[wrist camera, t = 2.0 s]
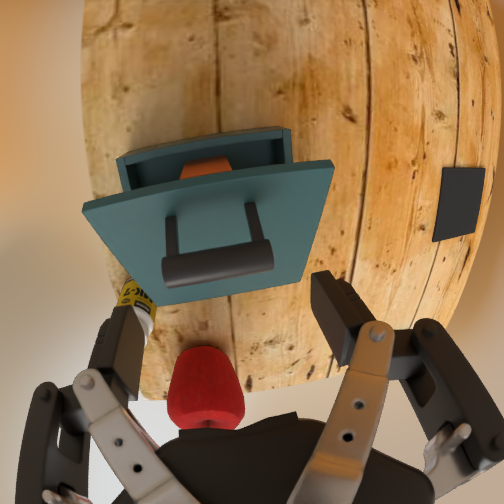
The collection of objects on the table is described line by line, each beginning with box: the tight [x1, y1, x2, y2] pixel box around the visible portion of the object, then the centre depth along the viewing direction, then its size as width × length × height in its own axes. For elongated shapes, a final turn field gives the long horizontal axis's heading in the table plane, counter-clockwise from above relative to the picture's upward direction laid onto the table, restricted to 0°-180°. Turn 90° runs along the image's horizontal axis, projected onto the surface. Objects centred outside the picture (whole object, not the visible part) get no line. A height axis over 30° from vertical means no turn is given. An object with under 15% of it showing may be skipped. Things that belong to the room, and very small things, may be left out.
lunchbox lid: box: [82, 159, 335, 307], centre depth 21 cm, size 16×16×5 cm
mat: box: [432, 168, 486, 242], centre depth 35 cm, size 12×12×1 cm
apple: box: [167, 345, 245, 430], centre depth 35 cm, size 11×10×14 cm
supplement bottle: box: [116, 278, 157, 347], centre depth 30 cm, size 5×5×8 cm
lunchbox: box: [116, 126, 293, 192], centre depth 28 cm, size 16×16×4 cm
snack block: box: [180, 155, 232, 180], centre depth 25 cm, size 5×4×7 cm
